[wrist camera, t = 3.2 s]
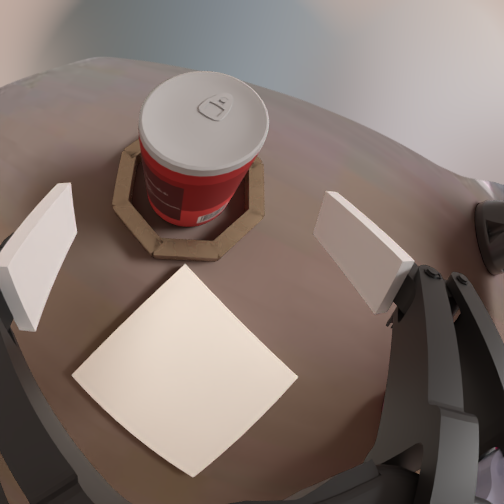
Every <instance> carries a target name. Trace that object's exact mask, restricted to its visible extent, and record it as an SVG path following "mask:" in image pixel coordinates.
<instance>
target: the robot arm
mask: <svg viewBox="0 0 504 504" xmlns="http://www.w3.org/2000/svg"><path fill="white" fill-rule="evenodd" d="M475 225H476V233H477V239H478V244H479V248H480V251H481V255H482V258H483V260H484V263H485V265H486V267H487V269H488V270H489V272H490V273H491V274H493V275H497V274H502V273H504V200H486V201H484V202H481V203H479V204H478V205H477V207H476V212H475ZM76 234H77V228H76V222H75V215H74V207H73V199H72V189H71V183H58V184H57V185H56V186H55V187H54V188H53V189H52V190H51V191H50V192H49V193H48V194H47V195H46V196H45V197H44V198H43V199H42V201H41V202H40V203H39V204H38V205H37V206H36V207H35V208H34V210H33V211H32V212H31V213H30V214H29V215H28V217H27V218H26V219H25V220H24V221H23V223H22V224H21V225H20V226H19V228H18V229H17V230H16V231H15V232H13V233H12V234H11V235H10V236H8V237H7V238H6V239H5V240H4V241H3V242H2V244H1V245H0V452H1V454H2V456H3V458H4V460H5V462H6V464H7V465H8V467H9V469H10V471H11V473H12V474H13V476H14V478H15V480H16V481H17V483H18V484H19V486H20V488H21V489H22V491H23V492H24V494H25V495H26V497H27V499H28V501H29V503H30V504H131V503H130V502H129V501H127V500H126V499H125V498H123V497H122V496H121V495H120V494H118V493H117V492H116V491H115V490H114V489H113V488H112V487H111V486H110V485H109V484H108V483H107V482H106V480H105V479H104V478H103V477H102V476H101V475H100V474H99V473H98V472H97V470H96V469H95V468H94V467H93V466H92V465H91V463H90V462H89V461H88V460H87V458H86V457H85V456H84V455H83V453H82V452H81V451H80V450H79V448H78V447H77V446H76V444H75V443H74V442H73V440H72V439H71V438H70V436H69V435H68V433H67V432H66V430H65V429H64V428H63V426H62V425H61V423H60V422H59V420H58V419H57V417H56V415H55V414H54V412H53V411H52V409H51V407H50V406H49V404H48V402H47V401H46V399H45V397H44V396H43V394H42V392H41V390H40V388H39V387H38V385H37V383H36V381H35V379H34V377H33V375H32V373H31V371H30V369H29V367H28V365H27V363H26V361H25V359H24V356H23V354H22V352H21V350H20V347H19V345H18V343H17V340H16V338H15V335H14V333H13V331H12V329H11V327H10V325H11V323H12V320H13V319H14V321H15V323H16V324H17V326H18V328H19V330H24V331H34V332H36V329H37V326H38V323H39V320H40V317H41V314H42V311H43V309H44V306H45V303H46V301H47V298H48V296H49V293H50V291H51V288H52V286H53V283H54V281H55V279H56V276H57V274H58V272H59V269H60V267H61V265H62V263H63V261H64V259H65V256H66V254H67V252H68V250H69V248H70V246H71V244H72V242H73V240H74V238H75V236H76ZM313 235H314V236H315V237H316V239H317V240H318V241H319V242H320V243H321V245H322V246H323V247H324V248H325V250H326V251H327V252H328V254H329V255H330V256H331V257H332V259H333V260H334V261H335V262H336V264H337V265H338V266H339V268H340V269H341V270H342V271H343V273H344V274H345V275H346V277H347V278H348V279H349V281H350V282H351V283H352V285H353V286H354V287H355V288H356V290H357V291H358V292H359V294H360V295H361V297H362V298H363V299H364V301H365V302H366V303H367V305H368V306H369V307H370V309H371V310H372V312H373V313H374V314H380V313H385V312H387V311H388V309H389V308H390V306H391V304H392V303H393V302H394V303H395V304H396V305H397V307H396V309H395V311H394V312H393V314H392V316H391V317H390V319H389V320H388V322H387V324H386V326H387V327H388V326H389V324H390V323H393V325H392V326H391V328H393V329H392V342H391V353H390V363H389V371H388V379H387V386H386V392H385V399H384V404H383V410H382V415H381V420H380V425H379V430H378V434H377V439H376V442H375V444H374V446H373V448H372V449H371V451H370V452H369V453H368V455H367V456H366V458H365V460H364V462H363V464H361V465H358V466H356V467H354V468H352V469H349V470H347V471H344V472H342V473H340V474H337V475H335V476H333V477H331V478H329V479H326V480H324V481H322V482H320V483H317V484H315V485H313V486H310V487H308V488H305V489H303V490H300V491H299V492H297V493H295V494H293V495H292V496H290V497H288V498H286V499H284V500H281V501H242V502H236V503H230V504H504V343H503V341H502V339H501V337H500V335H499V333H498V331H497V329H496V327H495V325H494V323H493V321H492V319H491V317H490V315H489V313H488V312H487V310H486V308H485V306H484V304H483V303H482V301H481V299H480V297H479V296H478V294H477V292H476V291H475V289H474V287H473V286H472V284H471V283H470V281H469V280H468V279H467V277H466V276H464V275H463V274H461V273H458V272H452V273H451V275H450V277H449V279H448V280H443V278H442V276H441V274H440V273H439V272H438V271H436V270H435V269H434V268H432V267H430V266H427V265H420V266H419V267H418V266H417V265H416V264H415V263H414V262H415V261H414V260H413V259H412V258H411V257H410V256H409V255H408V254H407V253H406V252H405V251H404V250H403V249H402V248H401V247H400V246H399V245H398V244H396V243H395V242H394V241H393V240H392V239H391V238H390V237H389V236H388V235H387V234H386V233H384V232H383V231H382V230H381V229H380V228H379V227H378V226H377V225H375V224H374V223H373V222H372V221H371V220H370V219H369V218H367V217H366V216H365V215H364V214H363V213H362V212H360V211H359V210H358V209H357V208H356V207H354V206H353V205H352V204H351V203H350V202H348V201H347V200H346V199H345V198H344V197H342V196H341V195H340V194H339V193H337V192H332V191H325V194H324V198H323V201H322V205H321V208H320V212H319V215H318V219H317V222H316V225H315V229H314V232H313ZM458 309H460V312H461V314H460V315H459V317H458V318H457V320H456V321H455V322H453V316H454V315H455V313H456V312H457V310H458ZM495 447H497V449H495ZM420 469H421V470H420ZM418 470H420V475H419V474H417V473H415V471H418ZM0 504H9V503H8V501H7V498H6V496H5V493H4V491H3V488H2V486H1V483H0Z"/></svg>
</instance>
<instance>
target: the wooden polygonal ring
mask: <svg viewBox="0 0 504 504" xmlns="http://www.w3.org/2000/svg"><path fill="white" fill-rule="evenodd" d="M141 161H142V157H141V150H140V142H139V139H138V140H136V141H135V142H133V143H132V144H130V145H129V146H128V147H126V148H125V149H124V151H122V155H121V159H120V164H119V168H118V173H117V178H116V184H115V189H114V195H113V201H112V206H113V209H114V211H115V213H116V215H117V216H118V217H119V218H120V220H121V221H122V222H123V223H124V225H125V226H126V227H127V228H128V229H129V231H130V232H131V233H132V234H133V235H134V237H135V238H136V239H137V240H138V241H139V243H140V244H141V245H142V246H143V247H144V248H145V250H146V251H147V252H148V253H149V254H150V255H151V257H153V256H154V258H155V259H174V260H193V261H214V262H215V261H216V260H217V261H218V260H219V259H220V258H221V257H222V256H223V255H224V254H225V253H226V252H227V251H228V250H230V249H231V248H232V247H233V246H234V245H235V244H236V243H237V242H238V241H239V240H240V239H241V238H242V237H244V236H245V235H246V234H247V233H248V232H249V231H250V230H251V229H252V228H253V227H254V226H255V225H257V224H258V223H259V222H260V221H261V220H262V219H263V216H265V211H264V165H263V164H261V163H262V161H261V160H260V159H259V158H258V157H257V156H256V158H255V160H254V161H253V163H252V165H251V166H250V168H249V170H248V171H247V173H246V174H245V189H244V214H243V215H242V216H241V217H240V218H238V219H237V220H236V221H235V222H234V223H233V224H232V225H231V226H229V227H228V228H227V229H226V230H225V231H224V232H223V233H222V234H220V235H219V236H218V237H217V238H216V239H215V240H214V241H203V240H187V239H169V238H160V237H159V236H158V235H157V234H156V233H155V231H154V230H153V229H152V228H151V227H150V226H149V225H148V223H147V222H146V221H145V220H144V219H143V217H142V216H141V215H140V214H139V213H138V212H137V210H136V209H135V208H134V207H133V206H132V204H131V200H132V194H133V187H134V181H135V175H136V170H137V164H139V163H140V162H141Z"/></svg>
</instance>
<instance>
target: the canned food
mask: <svg viewBox="0 0 504 504" xmlns="http://www.w3.org/2000/svg"><path fill="white" fill-rule="evenodd" d="M138 130H139V142H140V150H141V157H142V164H143V171H144V177H145V183H146V189H147V195H148V200H149V202H150V204H151V206H152V208H153V209H154V211H155V212H156V213H157V214H158V215H159V216H160V217H161V218H162V219H164V220H165V221H167V222H169V223H171V224H174V225H178V226H184V227H191V226H199V225H202V224H205V223H207V222H209V221H211V220H213V219H214V218H216V217H217V216H218V215H220V214H221V212H222V211H223V210H224V209H225V208H226V206H227V204H228V203H229V201H230V199H231V198H232V196H233V194H234V193H235V191H236V189H237V188H238V186H239V184H240V183H241V181H242V179H243V178H244V176H245V174H246V173H247V171H248V170H249V168H250V166H251V165H252V163H253V161H254V160H255V158H256V156H257V155H258V153H259V151H260V149H261V148H262V146H263V144H264V141H265V139H266V136H267V133H268V130H269V117H268V111H267V109H266V106H265V104H264V102H263V101H262V99H261V98H260V96H259V95H258V94H257V93H256V92H255V91H254V90H253V89H252V88H251V87H250V86H248V85H247V84H245V83H244V82H242V81H241V80H239V79H236V78H234V77H232V76H229V75H226V74H223V73H218V72H211V71H195V72H187V73H184V74H180V75H176V76H174V77H172V78H170V79H167V80H166V81H164V82H163V83H161V84H160V85H158V86H157V87H156V88H155V89H154V90H153V91H152V92H151V93H150V94H149V95H148V96H147V98H146V99H145V101H144V102H143V105H142V108H141V110H140V115H139V125H138Z"/></svg>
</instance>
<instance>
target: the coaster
mask: <svg viewBox="0 0 504 504" xmlns="http://www.w3.org/2000/svg"><path fill="white" fill-rule="evenodd" d="M72 376H73V378H74V379H75V380H76V381H77V382H78V383H79V384H80V385H81V386H82V387H83V389H84V390H85V391H86V392H87V393H88V394H89V395H90V396H91V397H92V398H93V399H94V400H95V401H96V402H97V403H98V404H99V405H100V406H101V407H102V408H103V409H104V410H105V411H107V412H108V413H109V414H110V415H111V416H112V417H113V418H114V419H115V420H116V421H117V422H119V423H120V424H121V425H122V426H123V427H124V428H125V429H127V430H128V431H129V432H130V433H131V434H133V435H134V436H135V437H136V438H138V439H139V440H140V441H141V442H143V443H144V444H145V445H146V446H148V447H149V448H150V449H152V450H153V451H154V452H156V453H157V454H159V455H160V456H161V457H163V458H164V459H166V460H167V461H168V462H170V463H171V464H173V465H174V466H176V467H177V468H179V469H180V470H182V471H183V472H185V473H187V474H188V475H190V476H191V477H195V476H196V475H197V474H198V473H200V472H201V471H202V470H203V469H204V468H206V467H207V466H208V465H209V464H210V463H212V462H213V461H214V460H215V459H216V458H217V457H219V456H220V455H221V454H222V453H223V452H224V451H225V450H227V449H228V448H229V447H230V446H231V445H232V444H233V443H234V442H235V441H237V440H238V439H239V438H240V437H241V436H242V435H243V434H244V433H245V432H246V431H247V430H248V429H249V428H250V427H251V426H252V425H253V424H254V423H255V422H256V421H257V420H258V419H259V418H260V417H261V416H262V415H263V414H264V413H265V412H266V411H267V410H268V409H269V408H270V407H271V406H272V405H273V404H274V403H275V402H276V401H277V400H278V399H279V398H280V397H281V396H282V395H283V393H284V392H285V391H286V390H287V389H288V388H289V387H290V386H291V385H292V384H293V382H294V381H295V380H296V379H297V378H298V376H297V375H296V374H295V373H294V372H292V371H291V370H290V369H289V368H288V367H287V366H286V365H285V364H284V363H283V362H282V361H281V360H280V359H278V358H277V357H276V356H275V355H274V354H273V353H272V352H271V351H270V350H269V349H268V348H267V347H266V346H265V345H264V344H263V343H262V342H261V341H260V340H259V339H258V338H257V337H256V336H255V335H254V334H253V333H252V332H250V331H249V330H248V329H247V328H246V327H245V326H244V325H243V324H242V323H241V322H240V321H239V320H238V319H237V318H236V317H235V316H234V315H233V314H232V312H231V311H230V310H229V309H228V308H227V307H226V306H225V305H224V304H223V303H222V302H221V301H220V300H219V299H218V298H217V297H216V296H215V295H214V294H213V293H212V292H211V291H210V290H209V289H208V288H207V287H206V286H205V284H204V283H203V282H202V281H201V280H200V279H199V278H198V277H197V276H196V275H195V274H194V273H193V272H192V271H191V269H190V268H189V267H188V266H187V265H186V264H185V265H183V266H182V267H181V268H180V269H179V270H178V271H177V272H176V273H175V274H174V275H173V276H172V277H171V278H169V279H168V280H167V281H166V282H165V283H164V284H163V285H162V286H161V287H160V288H159V289H158V290H157V291H156V292H155V293H154V294H152V295H151V296H150V297H149V298H148V299H147V300H146V301H145V302H144V303H143V304H142V305H141V306H140V307H139V308H138V309H137V310H136V311H135V312H134V313H133V314H132V315H131V316H130V317H129V318H128V319H127V320H125V321H124V322H123V323H122V324H121V325H120V326H119V327H118V328H117V329H116V330H115V331H114V332H113V333H112V334H111V335H110V336H109V337H108V338H107V339H106V340H105V341H104V342H103V343H102V344H101V345H100V346H99V347H98V348H97V349H96V350H95V351H94V352H93V353H92V354H91V355H90V356H89V357H88V359H87V360H86V361H85V362H84V363H83V364H82V365H81V366H80V367H79V368H78V369H77V370H76V371H75V372H74V373H73V374H72Z"/></svg>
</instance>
